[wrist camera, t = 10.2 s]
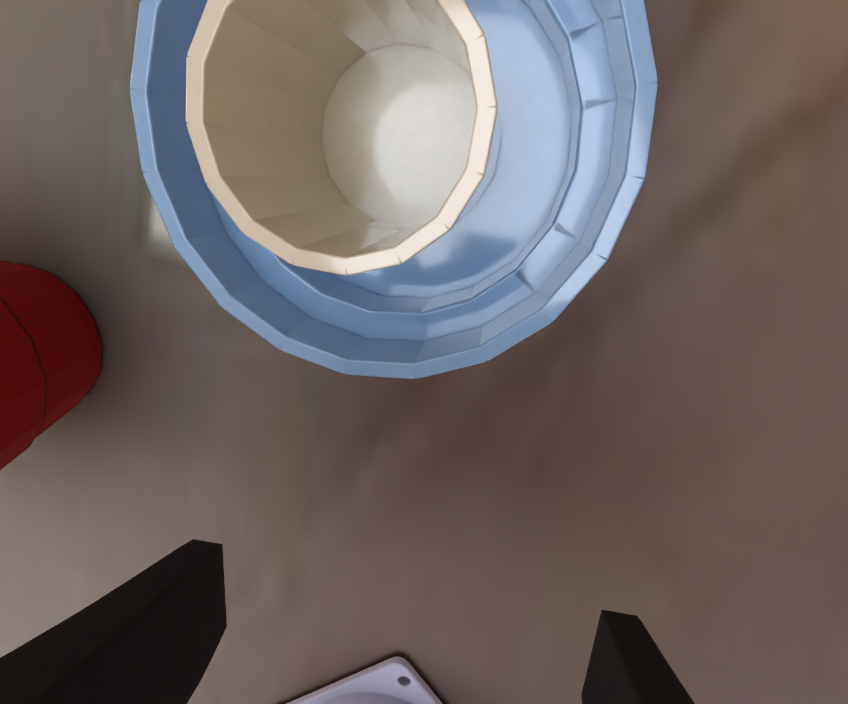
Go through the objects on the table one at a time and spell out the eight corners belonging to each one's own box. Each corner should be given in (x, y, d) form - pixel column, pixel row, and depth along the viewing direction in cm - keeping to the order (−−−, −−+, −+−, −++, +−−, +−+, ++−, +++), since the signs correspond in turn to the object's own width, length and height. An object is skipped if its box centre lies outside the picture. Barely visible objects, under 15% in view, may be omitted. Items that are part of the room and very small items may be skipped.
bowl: (691, 192, 16) (759, 197, 11) (373, 391, 19) (335, 454, 15) (462, -210, 13) (441, -388, 9) (153, 98, 17) (35, 72, 13)
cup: (537, 162, 15) (559, 153, 9) (388, 268, 17) (312, 327, 10) (428, -12, 14) (361, -168, 8) (281, 118, 16) (124, 78, 10)
